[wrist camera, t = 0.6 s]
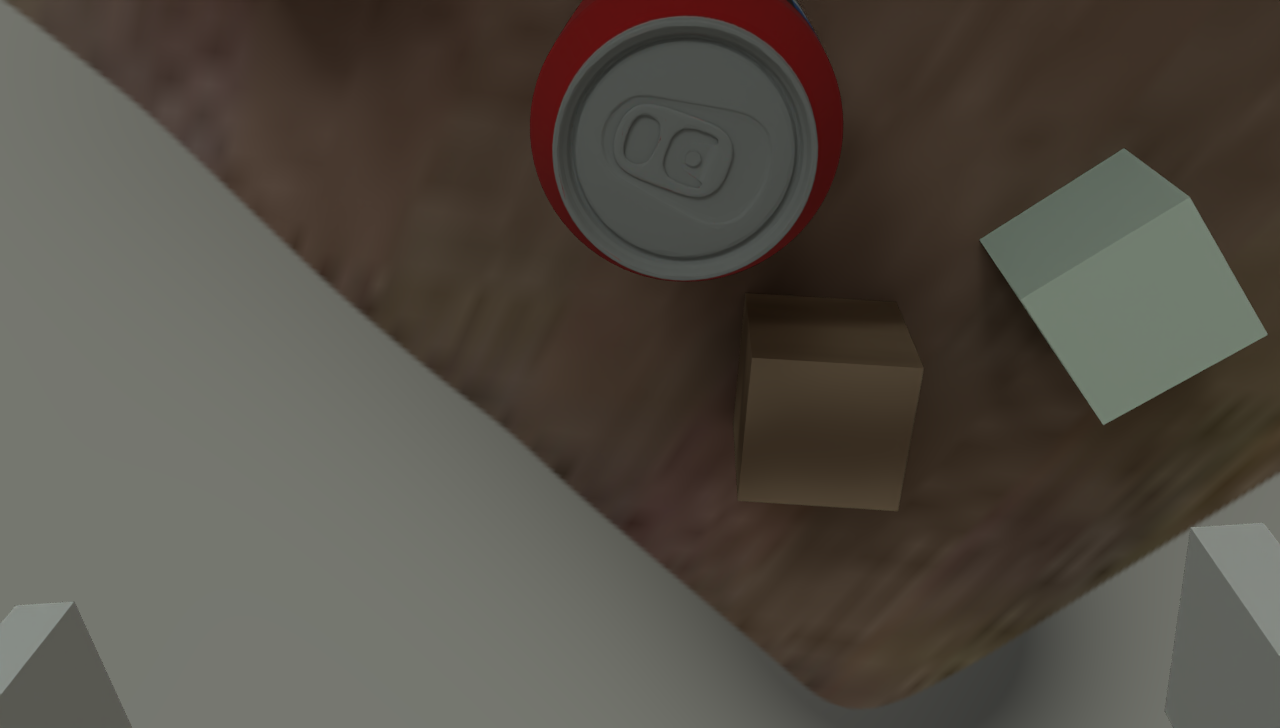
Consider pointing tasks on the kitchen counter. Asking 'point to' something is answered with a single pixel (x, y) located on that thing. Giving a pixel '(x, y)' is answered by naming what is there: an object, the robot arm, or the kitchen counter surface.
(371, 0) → the kitchen counter surface
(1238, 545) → the robot arm
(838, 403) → the cube walnut
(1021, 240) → the cube sage
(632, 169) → the beverage can
